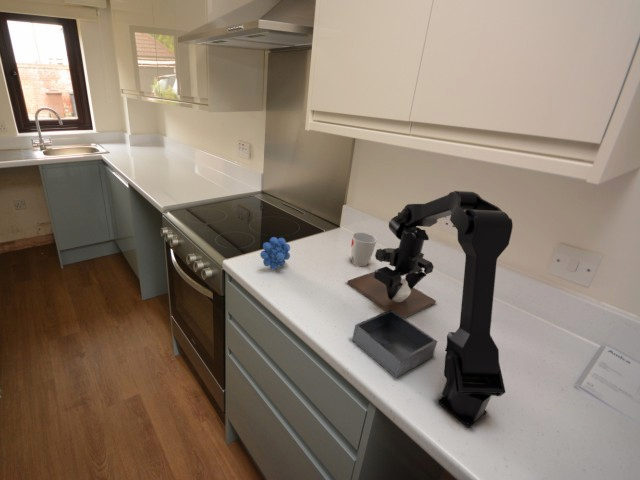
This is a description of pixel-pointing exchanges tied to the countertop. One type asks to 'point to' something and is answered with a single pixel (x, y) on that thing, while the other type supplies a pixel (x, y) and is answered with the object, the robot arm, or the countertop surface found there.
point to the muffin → (402, 292)
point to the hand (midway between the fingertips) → (397, 295)
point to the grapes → (275, 252)
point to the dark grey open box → (394, 342)
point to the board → (380, 297)
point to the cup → (362, 248)
